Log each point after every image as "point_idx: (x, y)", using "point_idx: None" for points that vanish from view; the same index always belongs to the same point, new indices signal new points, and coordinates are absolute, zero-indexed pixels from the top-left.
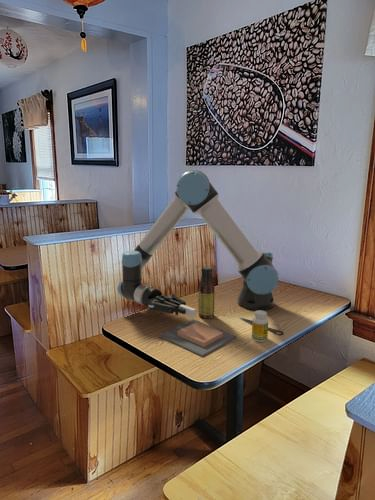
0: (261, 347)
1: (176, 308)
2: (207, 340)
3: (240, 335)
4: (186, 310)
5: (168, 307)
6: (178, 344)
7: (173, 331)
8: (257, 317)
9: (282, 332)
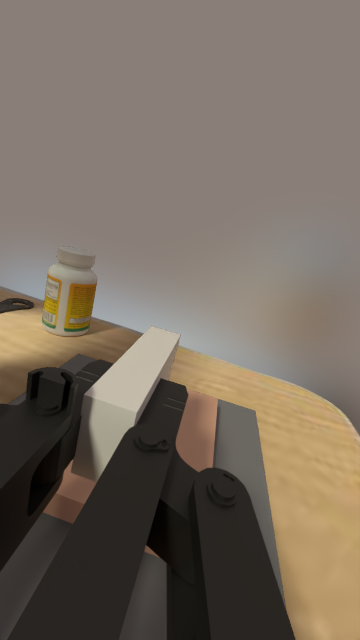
0: (115, 330)
1: (175, 454)
2: (196, 392)
3: (54, 353)
4: (162, 378)
5: (259, 556)
6: (269, 514)
7: None
8: (91, 265)
9: (17, 299)
